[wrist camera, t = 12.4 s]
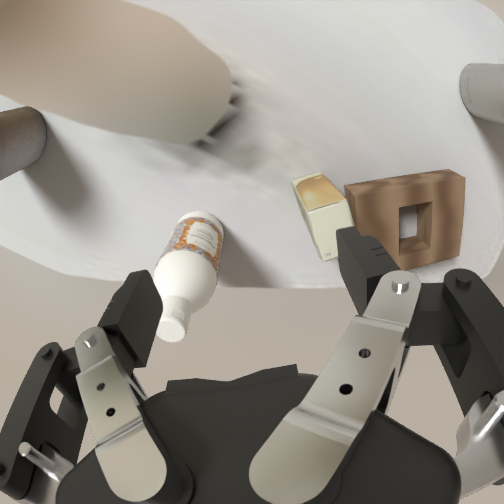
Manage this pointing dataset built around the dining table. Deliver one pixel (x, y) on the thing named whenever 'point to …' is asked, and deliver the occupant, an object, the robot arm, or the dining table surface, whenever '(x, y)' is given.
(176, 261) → the bath foam
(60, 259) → the dining table surface
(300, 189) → the skincare box
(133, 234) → the dining table surface
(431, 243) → the walnut holder block
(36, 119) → the pillar candle
